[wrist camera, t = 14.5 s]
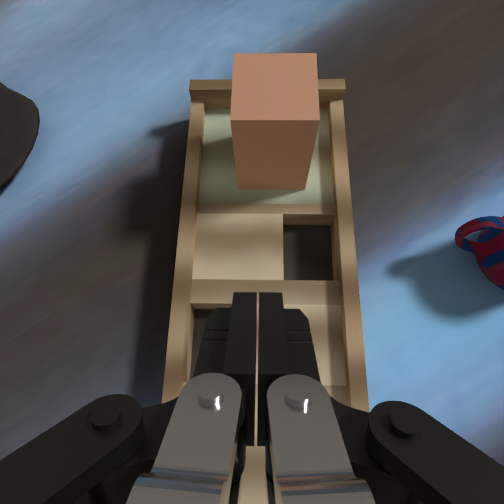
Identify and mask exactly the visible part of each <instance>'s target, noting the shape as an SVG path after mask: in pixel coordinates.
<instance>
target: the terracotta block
mask: <svg viewBox="0 0 504 504" xmlns="http://www.w3.org/2000/svg"><path fill="white" fill-rule="evenodd" d="M319 122H320V112H319V93H318V75H317V56H316V53H273V54H234V57H233V76H232V95H231V114H230V123H231V132H232V140H233V149H234V157H235V166H236V175H237V183H238V189H301V190H305V188H306V183H307V179H308V174H309V169H310V165H311V160H312V155H313V150H314V146H315V141H316V136H317V132H318V127H319Z"/></svg>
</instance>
